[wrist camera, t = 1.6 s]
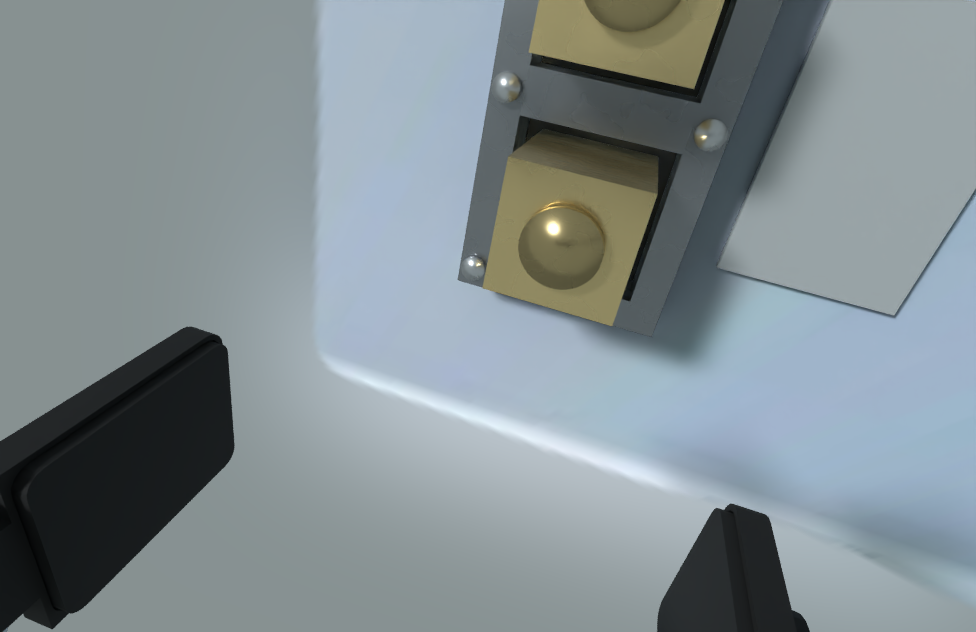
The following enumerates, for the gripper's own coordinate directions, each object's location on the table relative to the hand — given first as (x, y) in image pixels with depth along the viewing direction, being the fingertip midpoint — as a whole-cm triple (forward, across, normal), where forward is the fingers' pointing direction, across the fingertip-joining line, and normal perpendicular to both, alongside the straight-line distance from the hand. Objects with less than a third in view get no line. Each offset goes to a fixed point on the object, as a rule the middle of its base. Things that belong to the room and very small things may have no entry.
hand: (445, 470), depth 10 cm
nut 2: (+20, 0, 0) cm, 20 cm away
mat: (+19, -11, -5) cm, 23 cm away
